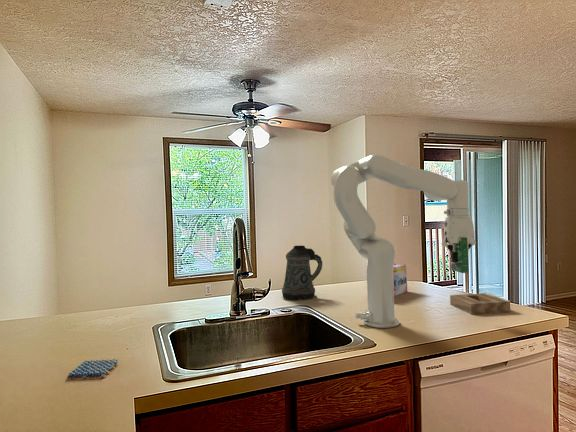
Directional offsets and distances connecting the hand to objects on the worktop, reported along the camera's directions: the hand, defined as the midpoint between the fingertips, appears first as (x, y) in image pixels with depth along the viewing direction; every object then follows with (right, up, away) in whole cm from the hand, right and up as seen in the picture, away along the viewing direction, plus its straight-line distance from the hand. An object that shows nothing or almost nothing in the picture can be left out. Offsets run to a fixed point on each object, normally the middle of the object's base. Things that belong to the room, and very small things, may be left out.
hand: (459, 261), depth 148 cm
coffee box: (0, -4, 0) cm, 4 cm away
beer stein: (-58, -23, +46) cm, 77 cm away
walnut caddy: (+13, -20, +12) cm, 27 cm away
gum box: (-15, -21, +43) cm, 50 cm away
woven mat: (-118, -27, -39) cm, 127 cm away
